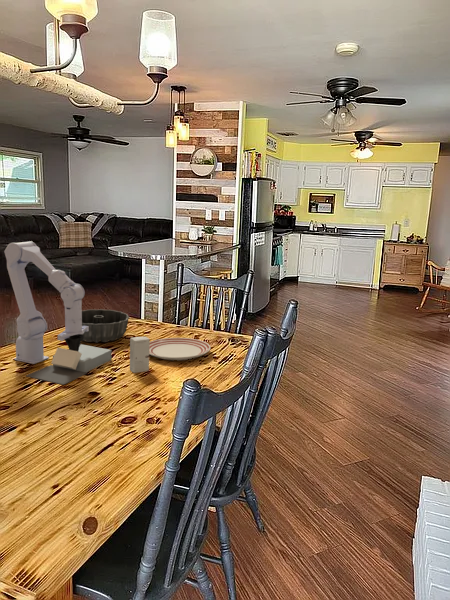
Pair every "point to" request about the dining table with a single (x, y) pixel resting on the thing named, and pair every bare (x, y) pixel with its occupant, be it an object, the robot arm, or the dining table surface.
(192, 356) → the dinner plate
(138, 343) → the skincare box
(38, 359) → the robot arm
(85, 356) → the grey flat block
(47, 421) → the dining table surface
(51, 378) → the mat
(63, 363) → the cream rectangular block
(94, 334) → the bundt pan
